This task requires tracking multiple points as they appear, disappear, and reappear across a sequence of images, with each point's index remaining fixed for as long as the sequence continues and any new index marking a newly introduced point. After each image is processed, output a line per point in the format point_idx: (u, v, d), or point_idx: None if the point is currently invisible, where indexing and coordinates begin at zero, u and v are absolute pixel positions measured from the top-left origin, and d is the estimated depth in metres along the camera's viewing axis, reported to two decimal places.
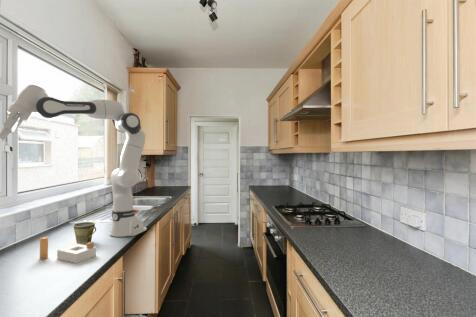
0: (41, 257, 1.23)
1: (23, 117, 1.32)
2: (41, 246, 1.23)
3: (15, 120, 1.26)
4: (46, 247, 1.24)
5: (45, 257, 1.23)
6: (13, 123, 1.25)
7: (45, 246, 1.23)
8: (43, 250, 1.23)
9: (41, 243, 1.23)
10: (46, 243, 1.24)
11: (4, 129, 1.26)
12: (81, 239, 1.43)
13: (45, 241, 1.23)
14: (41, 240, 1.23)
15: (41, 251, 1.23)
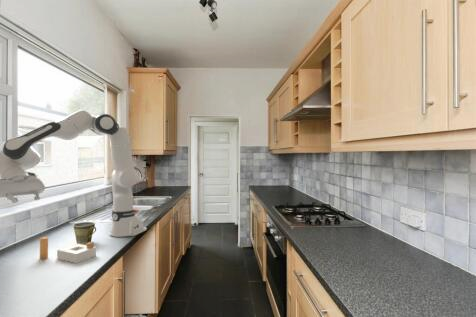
0: (41, 257, 1.23)
1: (9, 177, 1.28)
2: (41, 246, 1.23)
3: None
4: (46, 247, 1.24)
5: (45, 257, 1.23)
6: None
7: (45, 246, 1.23)
8: (43, 250, 1.23)
9: (41, 243, 1.23)
10: (46, 243, 1.24)
11: (7, 196, 1.24)
12: (81, 239, 1.43)
13: (45, 241, 1.23)
14: (41, 240, 1.23)
15: (41, 251, 1.23)
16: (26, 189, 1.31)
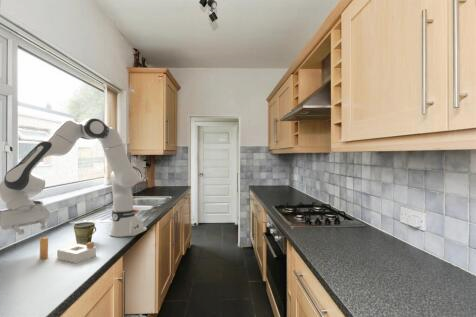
0: (41, 257, 1.23)
1: (15, 207, 1.26)
2: (41, 246, 1.23)
3: (1, 217, 1.20)
4: (46, 247, 1.24)
5: (45, 257, 1.23)
6: (2, 220, 1.20)
7: (45, 246, 1.23)
8: (43, 250, 1.23)
9: (41, 243, 1.23)
10: (46, 243, 1.24)
11: (13, 228, 1.22)
12: (82, 239, 1.43)
13: (45, 241, 1.23)
14: (41, 240, 1.23)
15: (41, 251, 1.23)
16: (32, 219, 1.29)
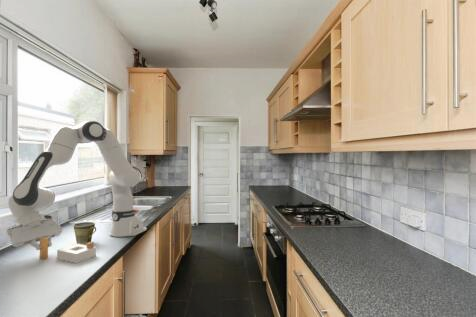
0: (41, 257, 1.23)
1: (26, 223, 1.23)
2: None
3: (12, 234, 1.17)
4: (46, 247, 1.24)
5: (45, 257, 1.23)
6: (13, 237, 1.17)
7: (45, 246, 1.23)
8: (43, 250, 1.23)
9: (41, 243, 1.23)
10: (46, 243, 1.24)
11: (31, 243, 1.21)
12: (82, 239, 1.43)
13: (45, 241, 1.23)
14: (41, 240, 1.23)
15: (41, 251, 1.23)
16: (43, 235, 1.26)
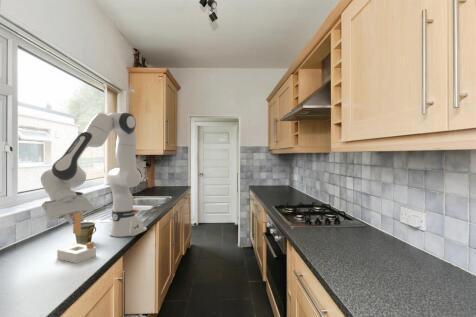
0: (74, 231, 1.25)
1: (59, 198, 1.25)
2: None
3: (47, 208, 1.19)
4: (79, 222, 1.26)
5: (78, 231, 1.25)
6: (49, 211, 1.19)
7: (78, 221, 1.25)
8: (76, 224, 1.25)
9: (74, 217, 1.25)
10: (79, 218, 1.26)
11: (64, 217, 1.23)
12: (81, 239, 1.43)
13: (79, 215, 1.25)
14: (74, 215, 1.25)
15: (74, 225, 1.25)
16: (76, 210, 1.28)
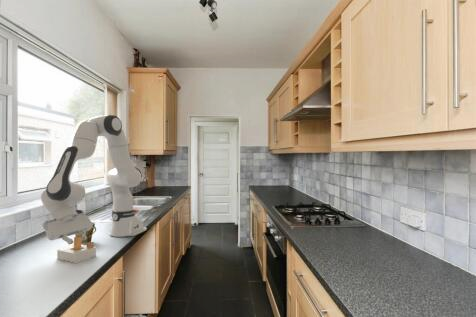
0: None
1: (60, 217, 1.25)
2: (75, 245, 1.25)
3: (48, 228, 1.19)
4: (80, 246, 1.26)
5: None
6: (49, 231, 1.18)
7: (79, 245, 1.25)
8: (77, 249, 1.25)
9: (75, 242, 1.25)
10: (80, 242, 1.26)
11: (62, 237, 1.22)
12: None
13: (79, 240, 1.26)
14: (75, 239, 1.25)
15: (75, 250, 1.25)
16: (76, 229, 1.28)
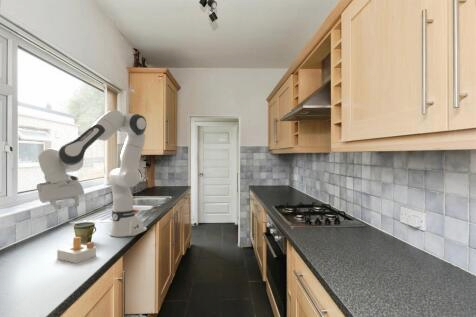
0: None
1: (54, 181, 1.27)
2: (74, 245, 1.24)
3: (42, 190, 1.21)
4: (79, 246, 1.26)
5: None
6: (42, 194, 1.20)
7: (78, 245, 1.25)
8: (76, 249, 1.25)
9: (75, 242, 1.25)
10: (79, 242, 1.26)
11: (51, 202, 1.23)
12: (81, 239, 1.43)
13: (79, 240, 1.25)
14: (75, 239, 1.25)
15: (75, 250, 1.25)
16: (68, 195, 1.30)
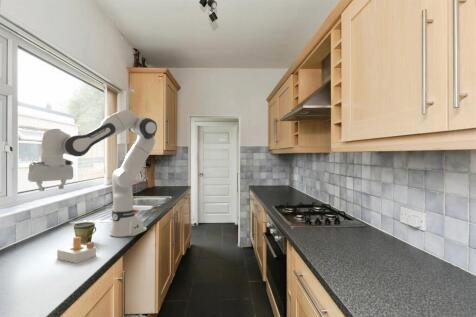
0: None
1: (48, 164, 1.32)
2: (74, 245, 1.24)
3: (32, 171, 1.26)
4: (79, 246, 1.26)
5: None
6: (32, 175, 1.26)
7: (78, 245, 1.25)
8: (76, 249, 1.25)
9: (74, 242, 1.25)
10: (79, 242, 1.26)
11: (37, 182, 1.30)
12: (81, 239, 1.43)
13: (79, 240, 1.25)
14: (74, 239, 1.25)
15: (75, 250, 1.25)
16: (56, 179, 1.36)
